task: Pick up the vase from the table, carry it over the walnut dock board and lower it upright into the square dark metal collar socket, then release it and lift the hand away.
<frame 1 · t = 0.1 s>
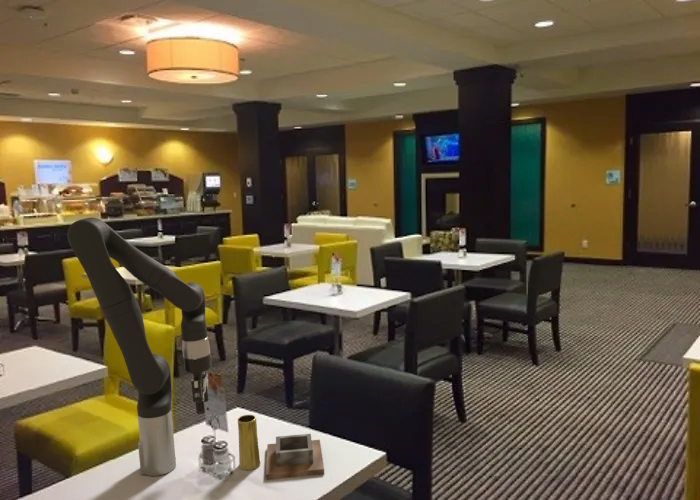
hand: (202, 407, 169), 17 cm above the table, tool pointing down, fingers open, 8 cm apart
dock: (294, 460, 171), on the table
vase: (249, 465, 170), on the table
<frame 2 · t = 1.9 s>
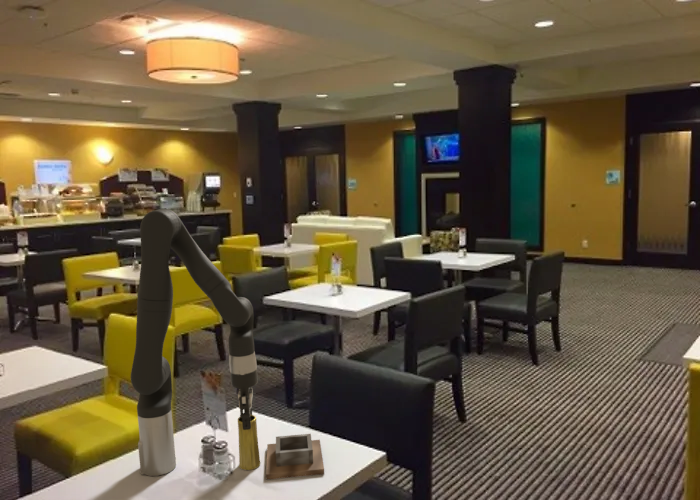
hand: (247, 422, 168), 13 cm above the table, tool pointing down, fingers open, 8 cm apart
nothing on the table moved.
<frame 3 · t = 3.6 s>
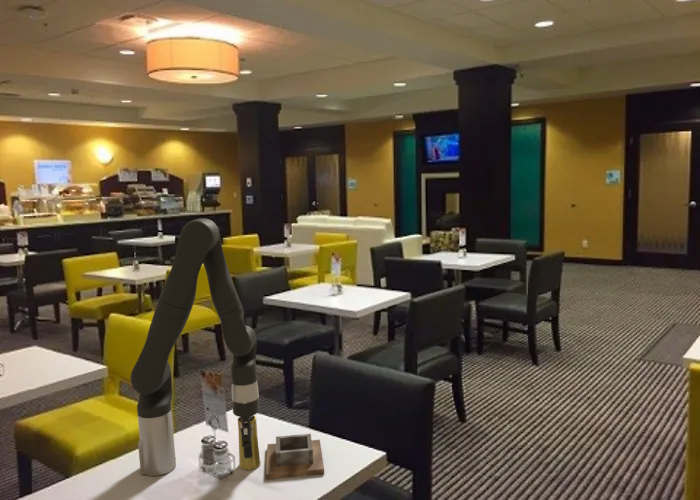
hand: (248, 452, 169), 4 cm above the table, tool pointing down, fingers closed on vase, 5 cm apart
vase: (249, 465, 170), on the table, touching gripper
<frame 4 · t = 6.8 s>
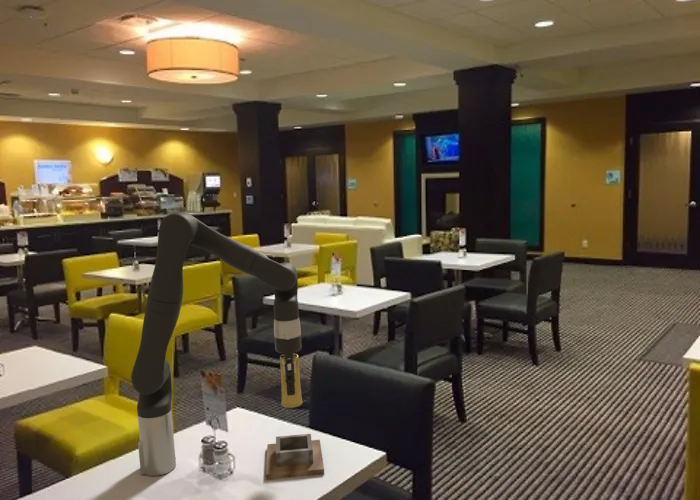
hand: (290, 390, 168), 22 cm above the table, tool pointing down, fingers closed on vase, 5 cm apart
vase: (291, 404, 169), point 17 cm above the table, touching gripper
when the fingers open (6 cm above the table, at t = 9.8 s): vase stays where it is, resting on dock.
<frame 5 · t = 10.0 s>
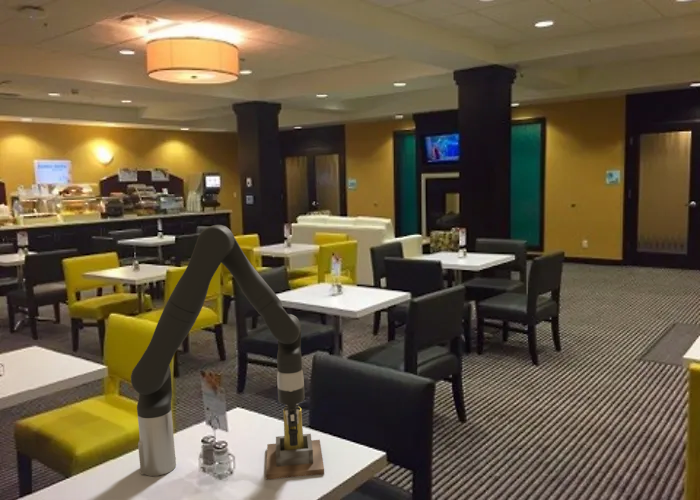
hand: (293, 439, 170), 7 cm above the table, tool pointing down, fingers open, 7 cm apart
vase: (294, 456, 171), point 1 cm above the table, touching dock
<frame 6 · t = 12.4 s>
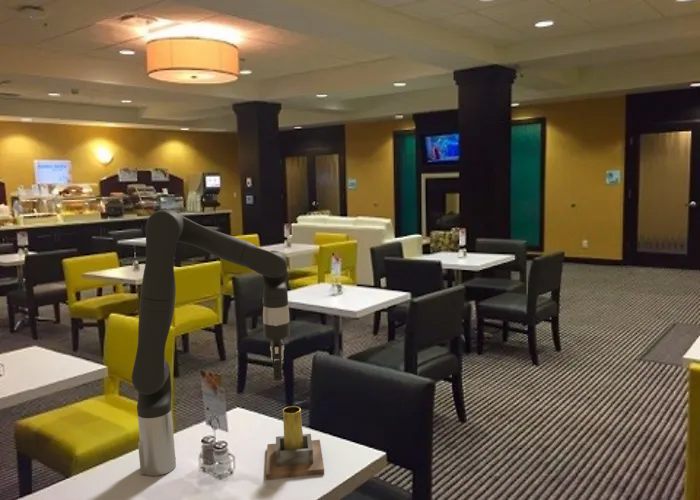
hand: (278, 374, 171), 25 cm above the table, tool pointing down, fingers open, 8 cm apart
nothing on the table moved.
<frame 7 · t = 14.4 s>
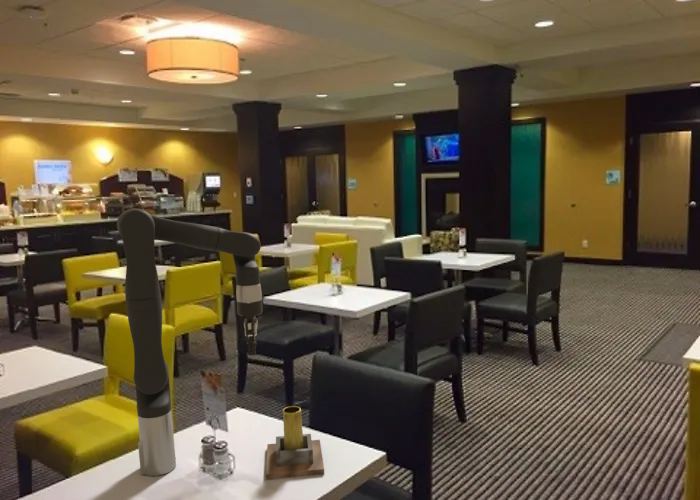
hand: (252, 350, 179), 30 cm above the table, tool pointing down, fingers open, 8 cm apart
nothing on the table moved.
at the end: vase 0.1 cm off-centre on the dock, point 1.3 cm above the dock's base; vase tilted 0°; the gripper is holding nothing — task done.
